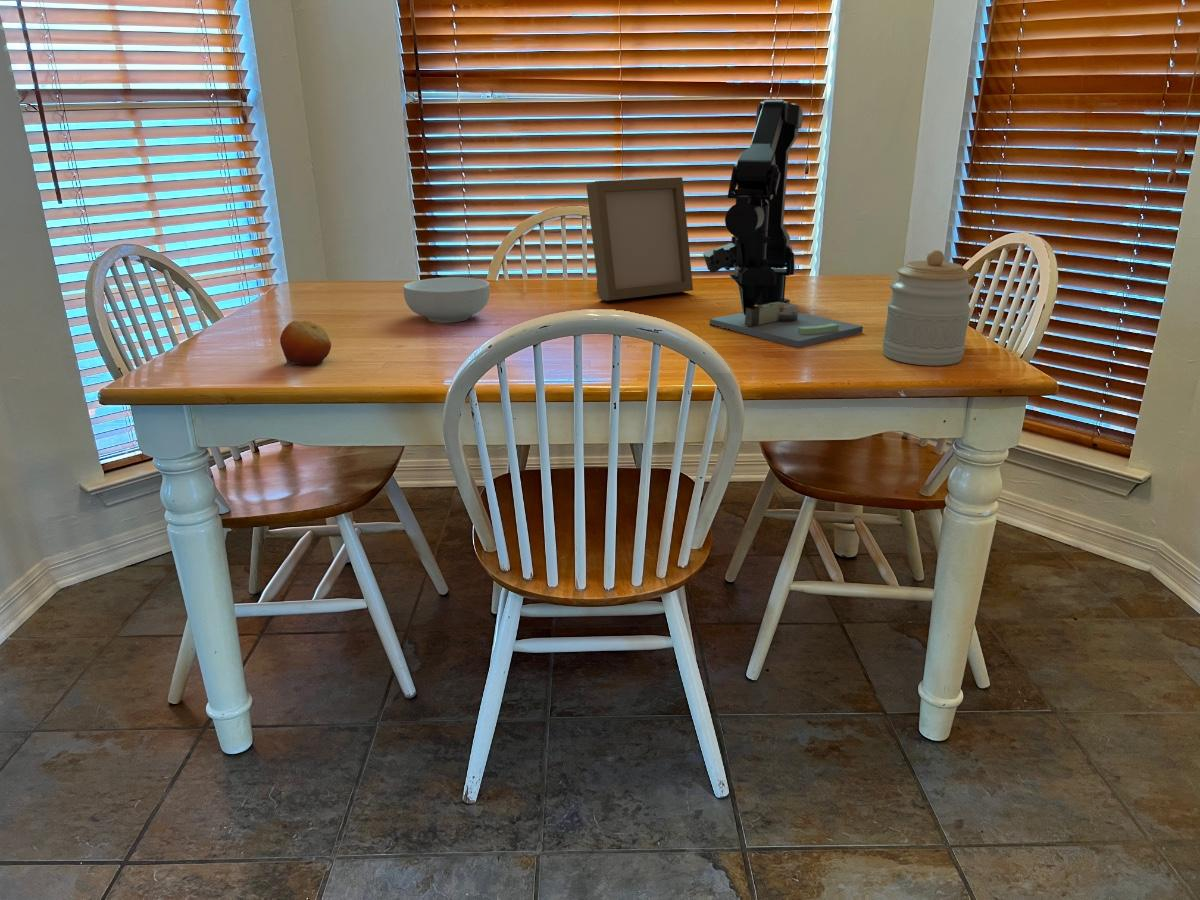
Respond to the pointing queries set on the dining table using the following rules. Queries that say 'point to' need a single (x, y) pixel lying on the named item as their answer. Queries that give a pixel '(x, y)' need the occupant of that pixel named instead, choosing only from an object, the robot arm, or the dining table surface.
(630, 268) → the photo frame
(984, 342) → the dining table surface
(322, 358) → the fruit
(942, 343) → the jar
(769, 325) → the board
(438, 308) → the cereal bowl
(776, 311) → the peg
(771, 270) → the robot arm
